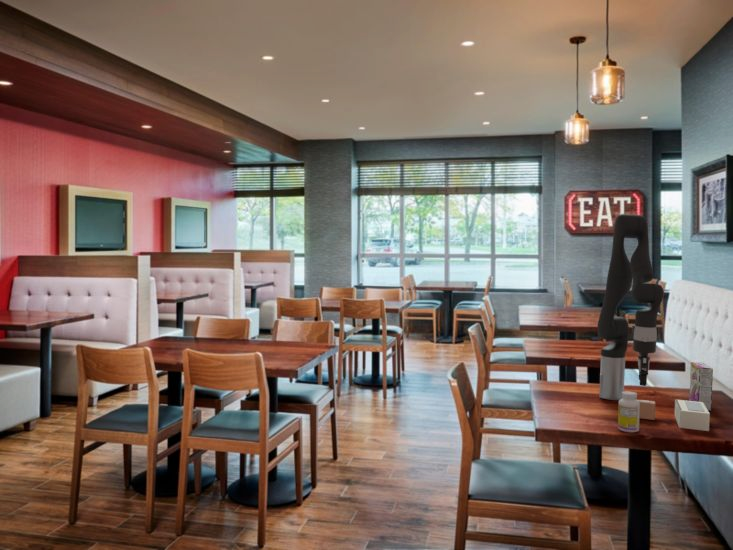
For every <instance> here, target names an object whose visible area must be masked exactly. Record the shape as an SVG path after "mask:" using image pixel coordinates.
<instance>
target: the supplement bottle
mask: <svg viewBox="0 0 733 550" xmlns="http://www.w3.org/2000/svg"><path fill="white" fill-rule="evenodd" d="M622 397H623V398H622V399H620V400H618V407H617V409H618V410H617V411H618V412H617V429H618V430H620V431H622V432H623V433H624V432H625V433H638V432H639V430H640V418H639V416H640V403H639V401H637V400H638V399H637V397H638V393H637V392H635V391H630V390H628V391H627V390H624V391H623V392H622ZM636 399H637V400H636Z"/></svg>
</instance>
